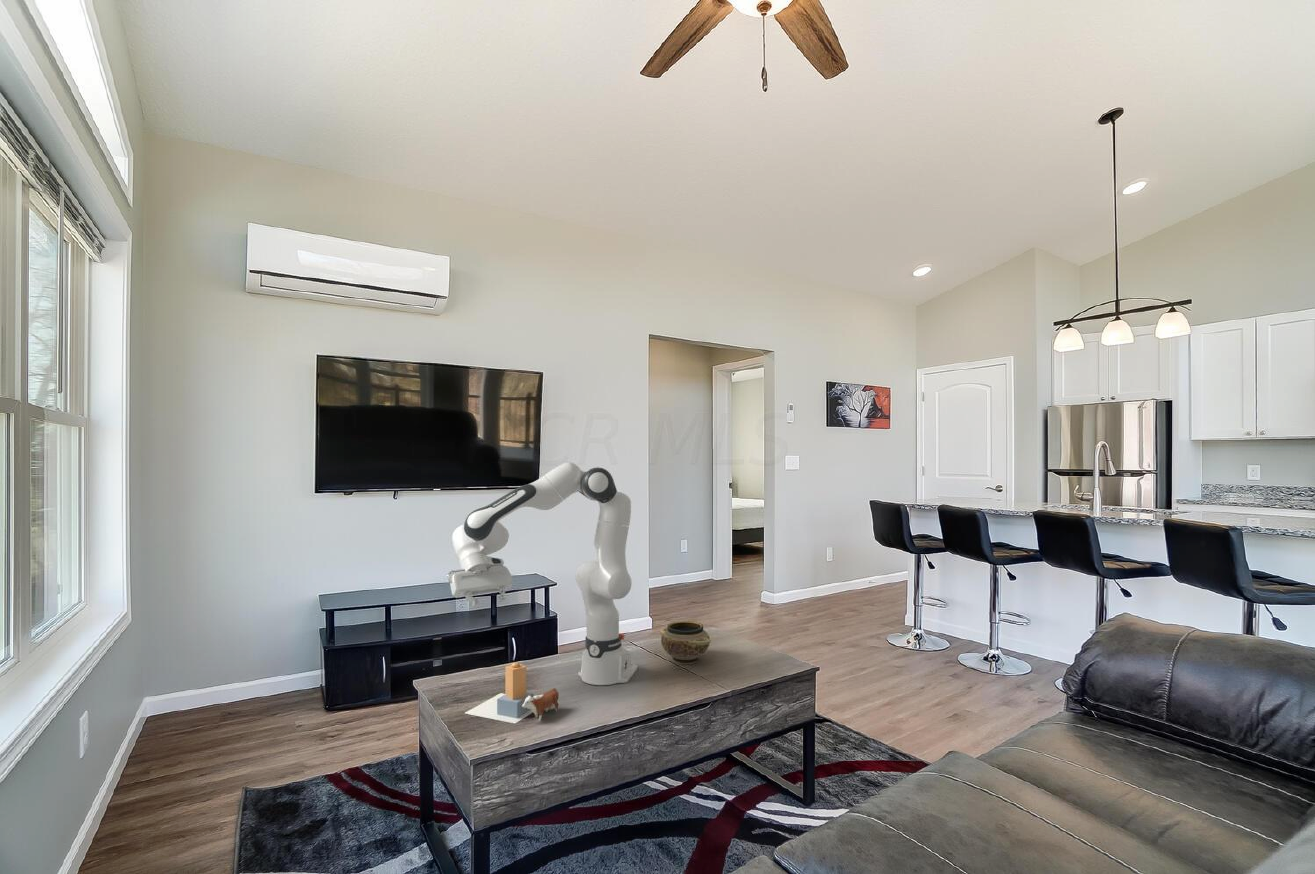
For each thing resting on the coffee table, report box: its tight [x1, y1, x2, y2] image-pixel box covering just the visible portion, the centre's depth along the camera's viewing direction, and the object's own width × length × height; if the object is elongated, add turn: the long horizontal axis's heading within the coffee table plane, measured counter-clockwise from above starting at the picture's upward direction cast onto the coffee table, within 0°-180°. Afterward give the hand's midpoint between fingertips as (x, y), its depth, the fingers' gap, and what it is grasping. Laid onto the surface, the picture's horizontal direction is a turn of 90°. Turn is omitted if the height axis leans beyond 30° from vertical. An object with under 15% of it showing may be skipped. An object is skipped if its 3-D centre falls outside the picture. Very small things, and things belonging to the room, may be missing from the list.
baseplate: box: [464, 692, 533, 724], centre depth 191 cm, size 17×18×1 cm
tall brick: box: [504, 661, 527, 700], centre depth 188 cm, size 4×4×9 cm
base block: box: [497, 691, 534, 718], centre depth 188 cm, size 8×7×4 cm
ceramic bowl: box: [659, 620, 712, 665], centre depth 237 cm, size 24×18×15 cm
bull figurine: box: [522, 688, 559, 721], centre depth 185 cm, size 4×13×8 cm, turn 146°
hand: (489, 602), depth 203 cm, fingers open, 8 cm apart
